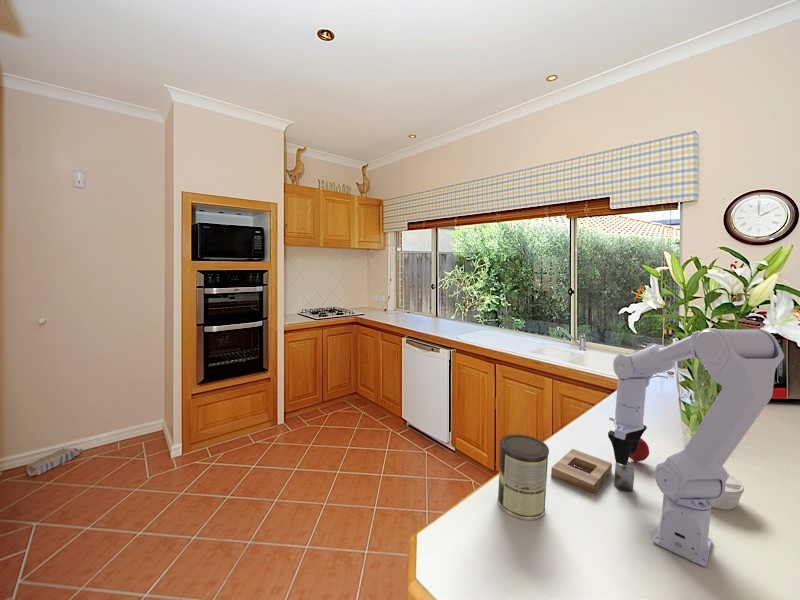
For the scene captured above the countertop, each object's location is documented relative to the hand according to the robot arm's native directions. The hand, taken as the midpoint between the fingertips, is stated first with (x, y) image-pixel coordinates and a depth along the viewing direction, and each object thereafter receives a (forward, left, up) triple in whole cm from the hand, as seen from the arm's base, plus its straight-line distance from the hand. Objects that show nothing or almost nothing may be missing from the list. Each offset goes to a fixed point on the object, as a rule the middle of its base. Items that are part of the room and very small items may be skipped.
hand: (625, 457), depth 86 cm
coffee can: (-25, +14, -8) cm, 30 cm away
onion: (+16, +1, -8) cm, 18 cm away
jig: (-2, +9, -8) cm, 12 cm away
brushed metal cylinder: (0, 0, -8) cm, 8 cm away
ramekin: (+11, -15, -8) cm, 20 cm away
